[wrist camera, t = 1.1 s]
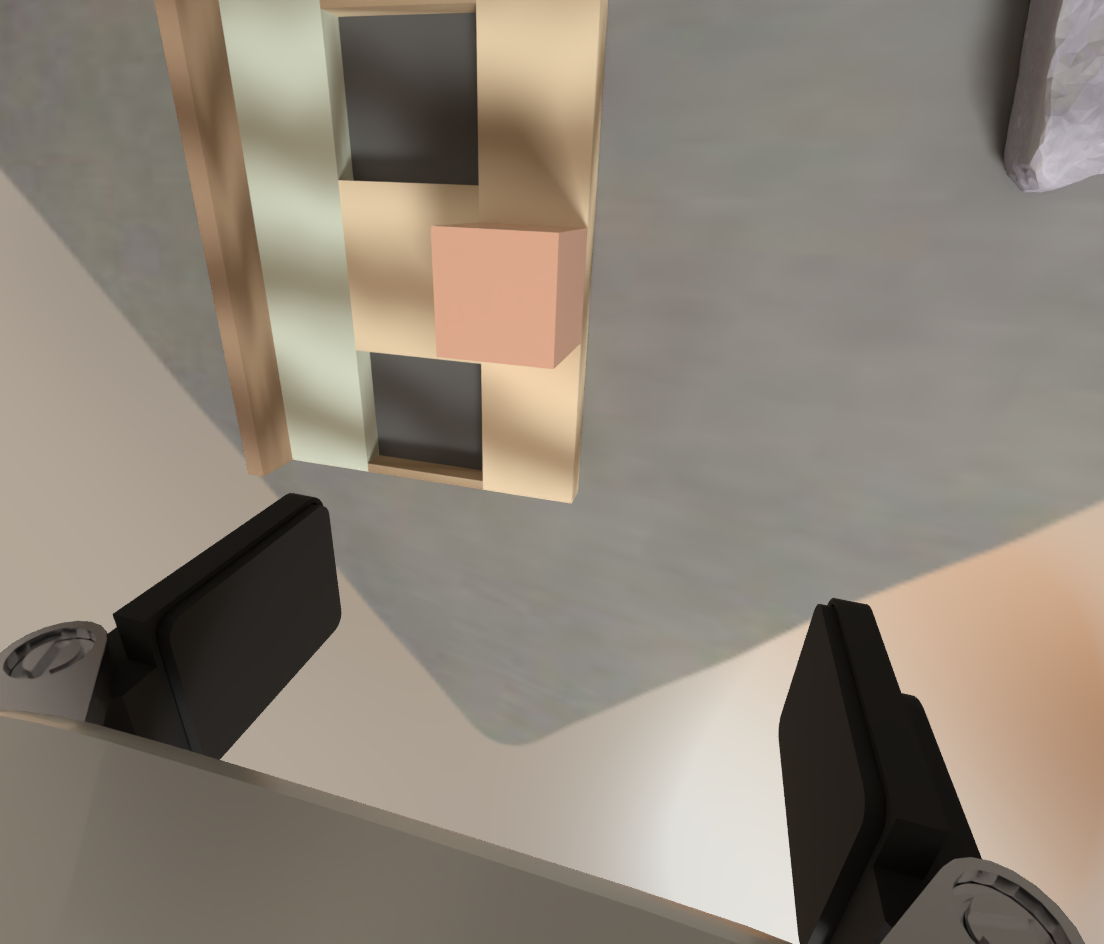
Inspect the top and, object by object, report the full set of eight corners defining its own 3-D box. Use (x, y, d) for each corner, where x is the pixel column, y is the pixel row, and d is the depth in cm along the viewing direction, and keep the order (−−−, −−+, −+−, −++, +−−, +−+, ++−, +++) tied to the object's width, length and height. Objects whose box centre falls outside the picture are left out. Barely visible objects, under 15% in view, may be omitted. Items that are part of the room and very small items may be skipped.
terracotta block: (479, 222, 27) (430, 225, 22) (587, 227, 26) (558, 232, 21) (480, 333, 29) (436, 356, 24) (581, 343, 28) (553, 369, 23)
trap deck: (224, 8, 27) (149, -21, 24) (608, -6, 23) (588, -44, 20) (294, 448, 37) (248, 474, 33) (578, 491, 33) (560, 526, 29)
